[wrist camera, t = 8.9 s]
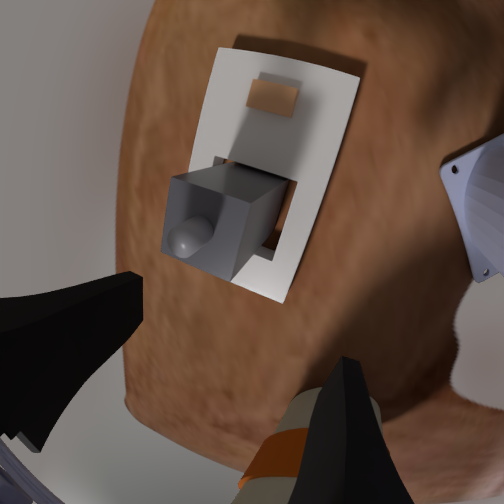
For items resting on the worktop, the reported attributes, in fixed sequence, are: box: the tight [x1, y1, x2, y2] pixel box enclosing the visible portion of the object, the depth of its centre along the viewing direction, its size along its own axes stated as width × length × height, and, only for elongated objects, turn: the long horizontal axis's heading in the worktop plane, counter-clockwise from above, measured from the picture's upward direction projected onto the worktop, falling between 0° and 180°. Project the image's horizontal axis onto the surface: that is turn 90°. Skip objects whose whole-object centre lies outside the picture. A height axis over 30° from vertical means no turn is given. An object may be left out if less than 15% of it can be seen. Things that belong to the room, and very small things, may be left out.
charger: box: [161, 162, 289, 282], centre depth 14 cm, size 4×4×8 cm
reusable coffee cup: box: [231, 387, 390, 504], centre depth 16 cm, size 13×13×15 cm
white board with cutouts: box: [188, 47, 360, 303], centre depth 16 cm, size 14×8×2 cm, turn 165°
